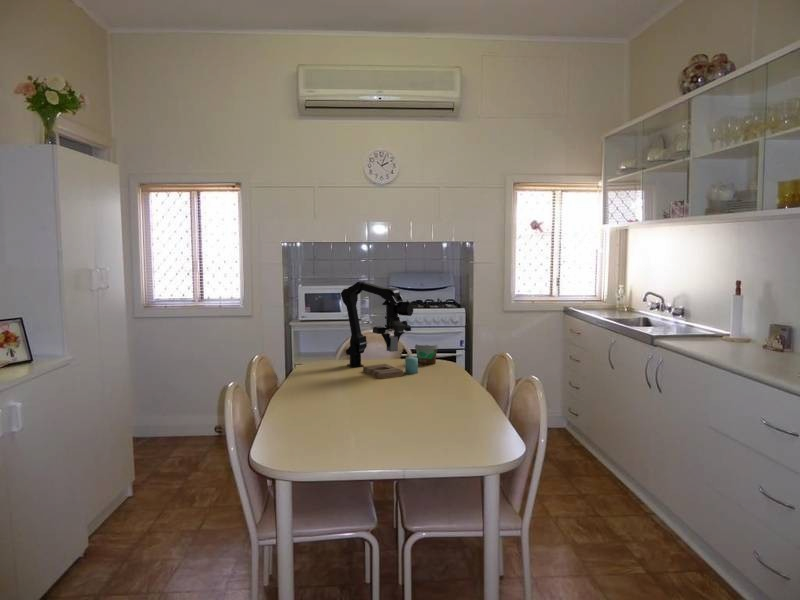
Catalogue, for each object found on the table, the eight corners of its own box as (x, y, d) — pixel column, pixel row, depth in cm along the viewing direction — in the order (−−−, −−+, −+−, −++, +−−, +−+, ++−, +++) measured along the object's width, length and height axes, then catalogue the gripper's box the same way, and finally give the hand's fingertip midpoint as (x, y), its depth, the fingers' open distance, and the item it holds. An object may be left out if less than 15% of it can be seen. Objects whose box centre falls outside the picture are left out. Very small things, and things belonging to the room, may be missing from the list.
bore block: (363, 371, 273) (363, 366, 273) (384, 368, 279) (384, 363, 279) (380, 378, 258) (380, 373, 257) (403, 375, 264) (403, 370, 263)
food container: (412, 364, 289) (412, 345, 288) (415, 362, 294) (415, 343, 293) (435, 366, 285) (435, 346, 284) (438, 363, 291) (438, 344, 290)
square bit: (386, 350, 274) (386, 336, 273) (393, 349, 276) (393, 335, 276) (390, 351, 271) (390, 337, 270) (397, 350, 273) (397, 336, 272)
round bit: (403, 372, 272) (402, 357, 271) (413, 370, 275) (413, 356, 274) (409, 374, 266) (409, 359, 266) (420, 372, 269) (420, 358, 269)
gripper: (383, 317, 260) (383, 351, 262) (417, 315, 270) (417, 347, 271) (372, 315, 269) (372, 347, 271) (405, 312, 279) (405, 343, 281)
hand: (392, 346), depth 273 cm, fingers closed on square bit, 4 cm apart
